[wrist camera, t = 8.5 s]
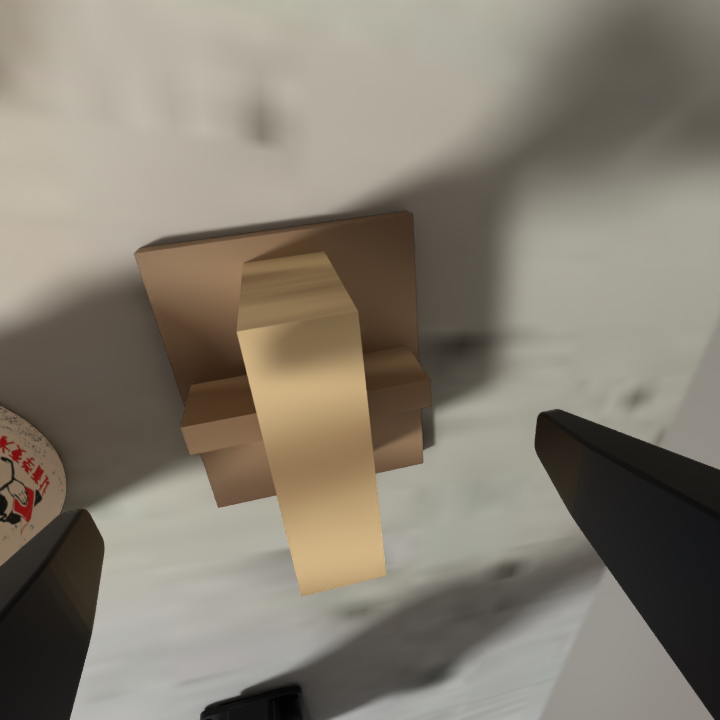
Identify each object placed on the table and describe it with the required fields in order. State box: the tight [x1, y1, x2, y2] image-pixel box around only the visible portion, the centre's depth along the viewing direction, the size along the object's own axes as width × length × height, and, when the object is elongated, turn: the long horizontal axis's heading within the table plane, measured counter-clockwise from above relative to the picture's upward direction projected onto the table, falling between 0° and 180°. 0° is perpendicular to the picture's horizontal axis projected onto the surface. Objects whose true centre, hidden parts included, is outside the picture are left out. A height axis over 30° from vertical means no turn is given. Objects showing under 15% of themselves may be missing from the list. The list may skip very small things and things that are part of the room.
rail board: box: [134, 211, 432, 508], centre depth 18 cm, size 12×10×4 cm
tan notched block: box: [237, 251, 386, 596], centre depth 16 cm, size 10×3×6 cm, turn 5°
